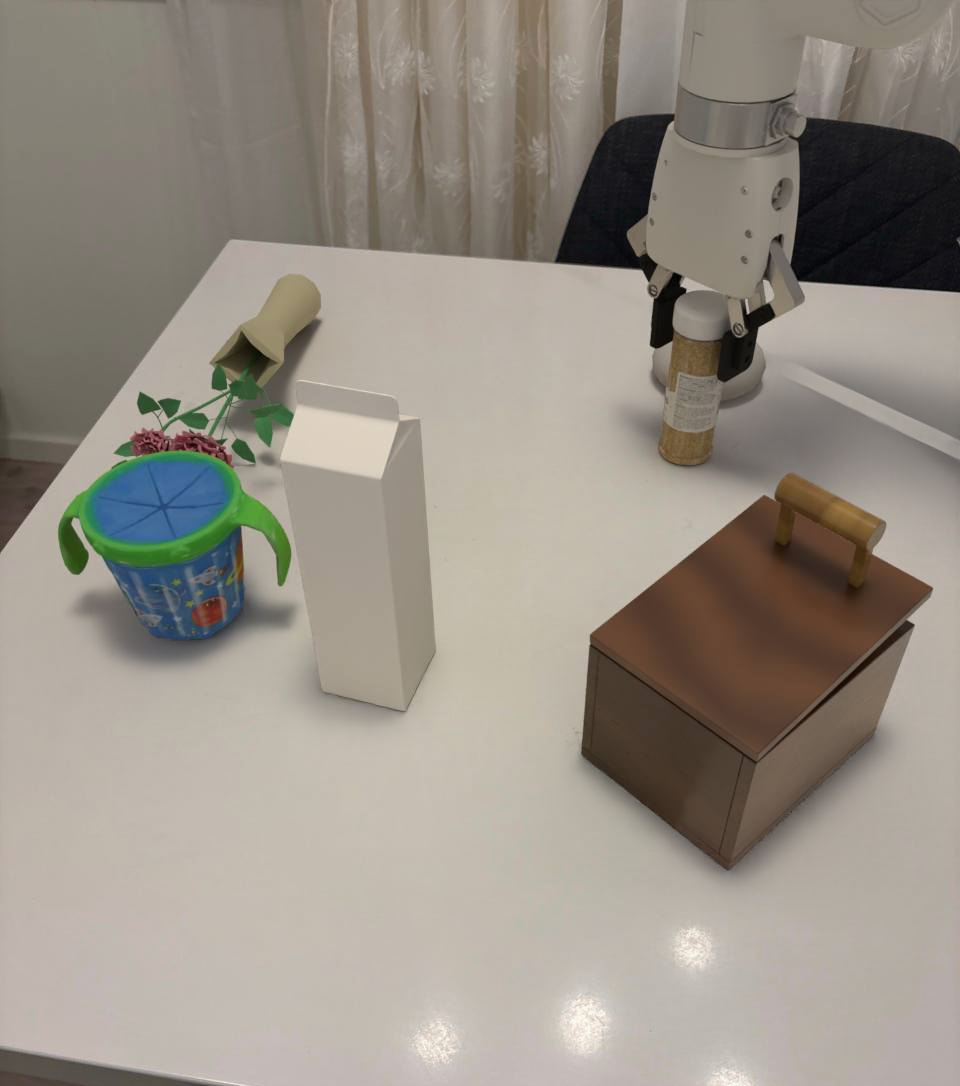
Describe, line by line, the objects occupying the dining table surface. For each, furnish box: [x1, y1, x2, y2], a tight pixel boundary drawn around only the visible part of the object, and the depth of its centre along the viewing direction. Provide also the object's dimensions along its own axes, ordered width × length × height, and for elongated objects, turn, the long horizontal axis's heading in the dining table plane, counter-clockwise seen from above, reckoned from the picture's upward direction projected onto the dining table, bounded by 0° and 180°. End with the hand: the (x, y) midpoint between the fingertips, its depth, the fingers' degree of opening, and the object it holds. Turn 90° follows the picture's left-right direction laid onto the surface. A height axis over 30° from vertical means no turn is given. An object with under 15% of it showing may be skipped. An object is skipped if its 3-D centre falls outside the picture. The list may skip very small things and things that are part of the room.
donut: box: [651, 341, 767, 402], centre depth 96 cm, size 10×4×10 cm
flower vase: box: [110, 273, 322, 470], centre depth 91 cm, size 12×12×35 cm
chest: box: [580, 619, 916, 871], centre depth 64 cm, size 15×12×10 cm
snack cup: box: [57, 451, 292, 641], centre depth 74 cm, size 16×10×10 cm
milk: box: [279, 379, 437, 712], centre depth 65 cm, size 6×6×22 cm
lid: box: [589, 472, 934, 762], centre depth 58 cm, size 15×12×6 cm
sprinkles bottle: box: [658, 289, 731, 466], centre depth 85 cm, size 5×5×13 cm
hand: (698, 356), depth 83 cm, fingers open, 5 cm apart
